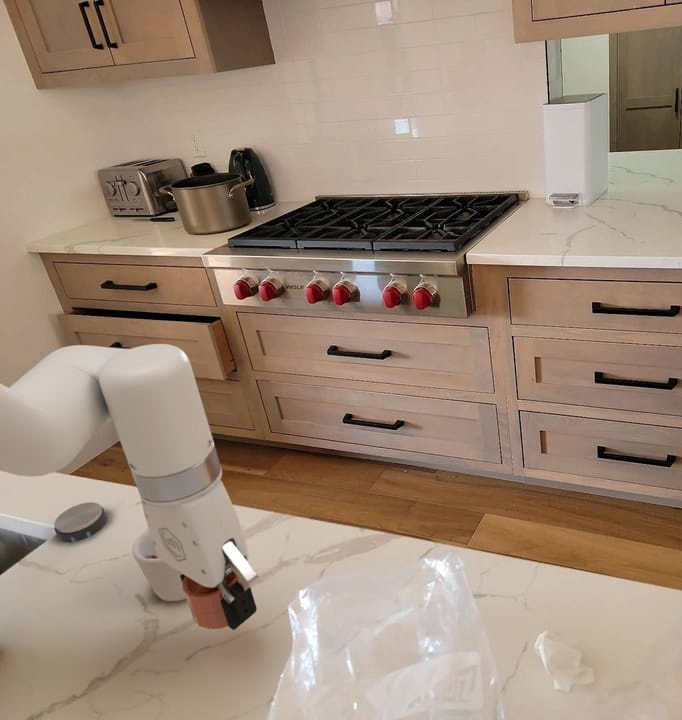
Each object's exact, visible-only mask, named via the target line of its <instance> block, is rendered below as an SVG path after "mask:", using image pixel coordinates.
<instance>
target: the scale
mask: <svg viewBox="0 0 682 720" xmlns="http://www.w3.org/2000/svg"><path fill="white" fill-rule="evenodd" d="M107 522H108V516H107V514H106V512H105V508H103V506H101V504H99V503H97V502H84V503H80V504H76V505H74V506H72V507H70V508H68V509H66V510H64V511H63V512H61V513H60V514H59V515H58V516H57V517H56V519H55V521H54V532H55V534H56V536H57V537H58V539H59V540H60V541H61V542H64V543H75V542H79V541H83V540H85V539H87V538H90V537H92V536H94V535H95V534H97V533H98V532H100V530H102V529H103V527H105V526H106V524H107Z"/></svg>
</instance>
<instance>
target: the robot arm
mask: <svg viewBox="0 0 682 720" xmlns="http://www.w3.org/2000/svg"><path fill="white" fill-rule="evenodd" d="M109 422H113V423H112V424H113V426H114V428H115V431H116V434H117V436H118V439H119V442H120V444H121V448H122V450H123V452H124V456H125V458H126V462H127V463H128V466H129V469H130V471H131V474H132V478H133V480H134V483H135V485H136V488H137V490H138V494H139V497H140V501H141V506H142V510H143V514H144V519H145V521H146V524H147V529H149V531H150V535H151V538H152V541H153V544H154V547H155V550H156V553H157V555H158V556H159V557H160V559H161V560H163V561H164V562H165V563H166V564H168V565H169V566H171V567H173V568H174V569H176V570H177V571H178V572H179V573H182V575H180V578H181V581H182V582H183V580H184V577H185V576H187V577H189V578H190V579H192V580H194V581H195V582H197V583H199V584H201V585H203V586H205V587H211V588H213V587H216V586H217V587H218V589H219V591H220V593H221V594H222V596H223V599H222V600H221V601H220V602H221V605H222V608H223V611H224V614H225V617H226V620H227V623H228V626H227V627H228V628H229V629H231V630H233V631H234V630H236V629H238V628H239V627H240V626H241V625H242V624H244V623H245V622H246V621H247V620H249V618H251V617H252V616H253V615H254V614H256V612H257V605H256V600H255V598H254V595H253V591H252V587H253V585H254V584H255V583H256V582H258V580H260V576H259V575H258V573H257V571H255V569H254V568H253V566H252V565H251V564H250V563H249V562H248V561H249V550H248V545H247V542H246V541H247V540H246V537H245V534H244V531H243V529H242V526H241V523H240V521H239V518H238V515H237V512H236V510H235V508H234V505H233V502H232V500H231V497H230V496H229V493H228V491H227V489H226V487H225V485H224V483H223V481H222V480H221V479H222V476H223V469H222V466H221V462H220V458H219V455H218V451H217V448H216V445H215V441H214V438H213V435H212V431H211V427H210V425H209V421H208V417H207V414H206V411H205V408H204V404H203V401H202V397H201V393H200V390H199V387H198V385H197V381H196V377H195V374H194V371H193V367H192V364H191V362H190V359H189V357H188V355H187V354H186V353H185V351H184V350H183V349H181V348H180V347H178V346H175V345H172V344H167V343H151V344H143V345H140V346H135V347H131V348H121V347H108V346H98V345H89V344H87V345H86V344H76V345H68V346H63V347H60V348H58V349H56V350H54V351H52V352H50V353H49V354H48V355H46V356H45V357H43V358H42V359H41V360H40V361H39V362H38V363H37V364H35V366H33V367H32V368H31V369H29V370H28V371H26V372H25V374H23V375H22V376H21V377H20V378H19V379H17V381H15V382H14V383H13V384H12V385H10V386H9V387H8V386H6V385H4V384H2V383H1V382H0V471H1V472H4V473H7V474H11V475H15V476H19V477H20V476H21V477H31V478H33V477H43V476H47V475H50V474H53V473H57V472H58V471H60V470H61V469H63V468H65V467H66V466H68V465H69V464H70V463H71V462H72V461H73V460H74V459H75V458H76V457H77V456H78V454H79V453H80V452H82V450H83V449H84V447H85V446H86V445H87V444H88V443H89V442H90V441H91V440H92V438H93V436H95V434H96V433H97V431H99V429H101V428H102V427H104V426H105V425H107V424H108V423H109ZM226 563H227V564H228V565H227V566H226V567H225V564H226ZM232 572H234V573H235V574H236V576H237V577H238V581H237V582H236V583H235V584H234V585H232V586H231V587H230V588H229V587H228V585H227V583H226V581H225V578H226V577H227V576H228V575H230V574H231V573H232Z"/></svg>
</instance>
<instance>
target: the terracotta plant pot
mask: <svg viewBox="0 0 682 720" xmlns="http://www.w3.org/2000/svg"><path fill="white" fill-rule="evenodd" d="M227 565H228V564H227V563H226V564H225V567H226V566H227ZM225 581H226V583H227V585H228V587H229V588H230V587H231V586H232V585H234V584H235V583H236V582H237V581H238V577H237V576H236V574H235V573H234V572H232V573H231V574H230V575H228V576H227V577H226V578H225ZM182 585H183V591H184V594H185V597H186V599H185V600H186V601H187V605H188V608H189V611H190V614H191V617H192V618H193V622H195V623H196V625H197V626H199V627H201V628H204V629H207V630H219V629H224V628H227V627H229V626H228V623H227V620H226V617H225V614H224V611H223V608H222V605H221V602H220V601H221V600H222V599H223V596H222V594H221V593H220V591H219V589H218V587H217V586H216V587H213V588H211V587H205V586H203V585H201V584H199V583H197V582H195V581H194V580H192V579H190V578H189V577H187V576H185V577H184V580H183V582H182Z"/></svg>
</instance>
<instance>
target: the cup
mask: <svg viewBox="0 0 682 720" xmlns="http://www.w3.org/2000/svg"><path fill="white" fill-rule="evenodd" d="M132 555H133V558H134V560H135V562H136V563H137V565H138V566H139V568H140V571H141V572H142V573H143V575H144V577H145V578H146V580H147V582H148V583H149V585H150V587H151V589H152V590H153V592H154V593H155V594H156V596H157V597H158V598H159V599H161V600H162V601H165V602H179V601H183V600H187V599H186V597H185V594H184V591H183V585H182V581H181V578H180V575H182V573H179V572H178V571H177V570H176V569H174V568H173V567H171V566H169V565H168V564H166V563H165V562H164V561H163V560H161V559H160V557H159V556H158V555H157V553H156V550H155V547H154V544H153V541H152V538H151V535H150V531H149V528H147V529H146V530H144V531H143V532H142V533H141V534H140V535H139V536H138V537H137V538H136V540H135V542H134V544H133V546H132Z"/></svg>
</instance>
